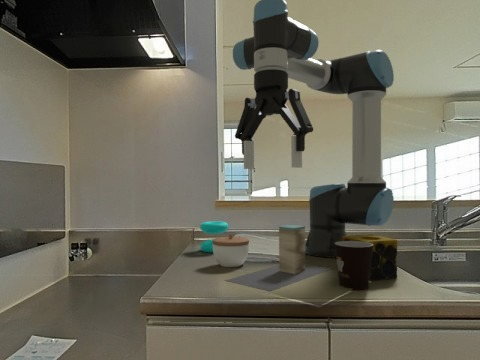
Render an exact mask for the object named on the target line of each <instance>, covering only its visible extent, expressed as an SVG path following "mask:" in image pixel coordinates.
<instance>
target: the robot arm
mask: <svg viewBox="0 0 480 360" xmlns="http://www.w3.org/2000/svg"><path fill="white" fill-rule="evenodd" d="M288 9H289V8H288V4H287V2H286V0H259V1H257V2H256V3H255V4H254V8H253V18H252V19H253V20H252V24H253V36H252V37H248V38H244V39H243V40H240V41H238V42H236V43H235V44H234V46H233V49H232V60H233V62H234V64H235V66H236V67H237V68H239V69H240V70H252V69H253V70H254V72H255V73H254V74H253V88H254V91H255V98H251V97H245V98H244V107H243V111H242V113H241V116H240V119H239V122H238V125H237V128H236V131H235V135H234V137H235V139H236V140H237V139H238V140H240V142H241V154H242V155H243V169H244V170H254V169H255V150H254V149H255V148H254V147H255V141H254V140H253V137H254V135H255V134H256V133H257V132H256V131H257V130H258V129H259V127H260V125H261V124H262V121H264V119H266V117H267V116H268V117H269V116H273V115H280V117H281V118H282V120H283V121H284V122H285V123H286V124H287V127H289V129H290V130H291V131H292V133H293V134H292V135H291V136H290V137H291V142H290V143H291V152H290V153H291V154H290V155H291V156H290V157H291V168H297V169H298V168H300V169H301V168H303V152H305V149H306V147H305V146H306V144H305V141H306V140H305V138H306V135H307V134H309V133H312V132H313V131H314V127H313V124H312V123H311V121H310V118H309V116H308V114H307V111H306V110H305V107H304V105H303V102H302V100H301V91H299V90H298V89H294V88H290V89H289V79H291V80H294V81H297V82H300V83H303V84H305V85H306V86H307V88H309V89H311V90H314V91H319V92H322V93H326V94H329V95H330V94H333V95H347V98H348V99H349V100H350V101H351V102H352V116H351V117H352V120H351V121H352V134H351V135H352V136H351V137H352V150H351V151H352V156H351V157H352V158H351V159H352V161H351V162H352V164H351V166H352V169H351V171H352V172H351V175H352V176H351V178H350V179H349V180H348V181H347V186H346V185H345V183H332V184H331V183H330V184H323V185H317V186H313V187H312V188H310V191H309V199H308V202H309V232H308V236H307V238H306V240H305V255H306V254H307V255H309V256H314V257H321V258H336V250H335V242H340V241H342V236H348V235H347V232H346V224H349V225H351V224H352V225H362V226H363V225H364V226H369V227H372V226H376V227H377V226H383V225H385V224H386V223H387V222H388V221H389V219H390V218H391V215H392V213H393V208H394V199H395V198H394V193H393V190H392V189H391V188H388V187H387V182H386V181H385V180H384V178H383V177H382V100H383V98H385V97H386V95H387V89H388V88H390V87H392V86H393V84H394V80H395V79H394V78H395V77H394V69H393V68H394V67H393V65H392V62H391V60H390V57H389V56H388V54H387V53H386V52H385V51H384V50H381V49H375V50H367V51H366V52H361V53H356V54H352V55H349V56H345V57H339V58H335V59H329V60H325V59H321V58H319V59H314V58H312V57H314V56H315V54H316V53H317V52H318V48H319V42H320V41H319V36H318V34H316V32H315V31H313V30H312V29H311V28H310V27H308V26H306V25H304V24H302V23H301V22H298V21H297V20H293V18H291V17H289V16H288V14H289V10H288ZM287 90H288V91H287ZM287 101H289V104H290V106H291V108H292V111H293V113H294V115H293V113H292V112H291V109H290V107H288V106H287V104H286V103H287Z"/></svg>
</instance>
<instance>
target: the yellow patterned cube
mask: <svg viewBox="0 0 480 360" xmlns="http://www.w3.org/2000/svg"><path fill="white" fill-rule="evenodd" d="M342 241H361V242H368V243H371V244H373V252H372V260H371V269H370V278H369V281H370V282H375V281H376V282H377V281H384V280H392V279H397V277H398V265H397V261H398V258H397V256H398V239H394V238H391V237H386V236H382V235H376V234H371V233H370V234H357V235H347V236H342Z"/></svg>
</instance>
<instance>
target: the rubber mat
mask: <svg viewBox="0 0 480 360" xmlns="http://www.w3.org/2000/svg"><path fill="white" fill-rule="evenodd" d="M331 270H332V268H331V267H330V268H329V267H321V266H317V265H311V264H306V263H305V271H302V272H300V273H297V274H292V273H287V272H281V271H279V264H277V265H275V266H270V267H266V268H264V269H260V270H256V271H253V272H249V273H246V274H242V275H239V276H235V277H232V278H229V279H225V280H224V281H225V282H229V283H233V284H238V285H243V286H245V287H250V288H254V289H259V290H263V291H267V292H273V291H275V290H278V289H280V288H283V287H284V288H285V287H286V286H288V285H289V286H290V285H292V284H294V283H297V282H300V281H303V280H306V279H309V278H311V277H313V276H316V275H319V274H322V273H325V272H327V271H331Z"/></svg>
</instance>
